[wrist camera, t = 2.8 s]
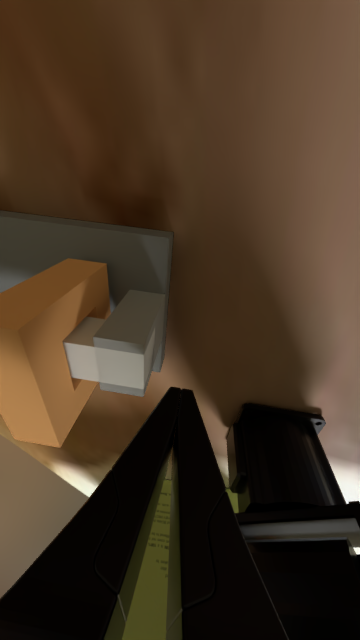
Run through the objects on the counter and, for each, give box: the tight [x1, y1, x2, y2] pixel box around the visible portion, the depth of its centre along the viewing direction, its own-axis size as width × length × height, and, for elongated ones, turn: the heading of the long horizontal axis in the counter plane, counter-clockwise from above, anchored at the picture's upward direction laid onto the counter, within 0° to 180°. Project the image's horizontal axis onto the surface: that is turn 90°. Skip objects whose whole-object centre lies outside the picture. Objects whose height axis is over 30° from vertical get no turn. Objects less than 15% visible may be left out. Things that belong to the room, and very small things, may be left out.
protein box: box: [122, 480, 239, 640], centre depth 23 cm, size 10×15×16 cm
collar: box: [0, 258, 111, 448], centre depth 10 cm, size 2×6×6 cm, turn 175°
